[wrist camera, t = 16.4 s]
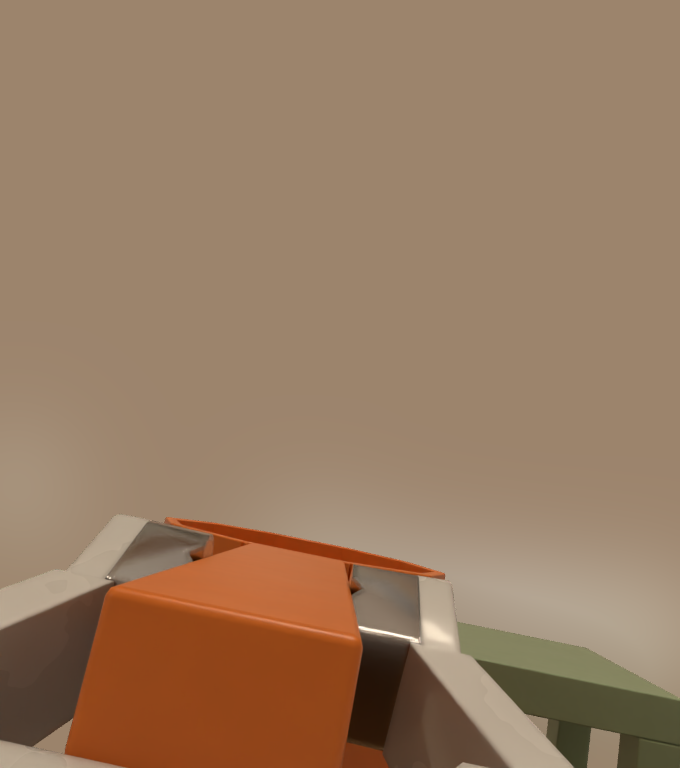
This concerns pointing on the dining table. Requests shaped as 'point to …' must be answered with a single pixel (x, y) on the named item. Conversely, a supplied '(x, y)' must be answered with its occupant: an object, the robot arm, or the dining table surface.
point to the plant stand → (580, 696)
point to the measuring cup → (230, 659)
